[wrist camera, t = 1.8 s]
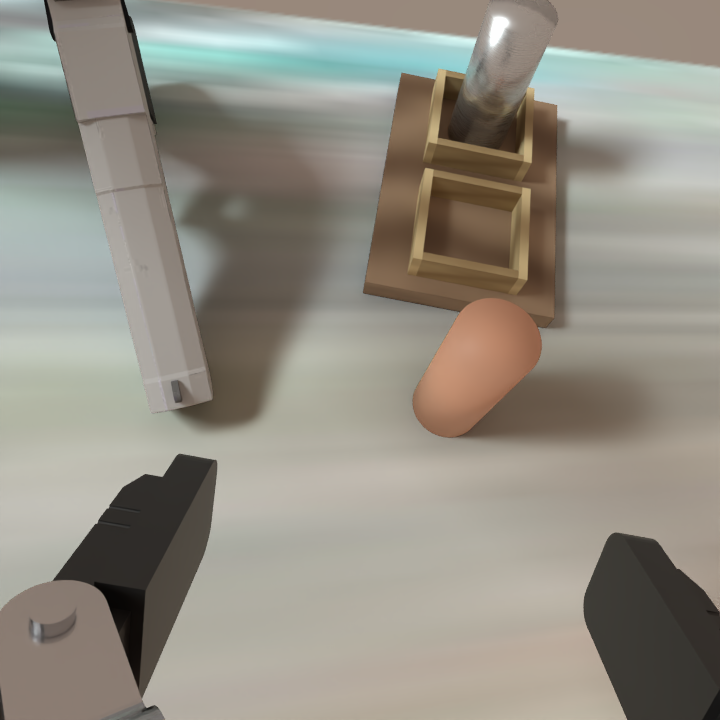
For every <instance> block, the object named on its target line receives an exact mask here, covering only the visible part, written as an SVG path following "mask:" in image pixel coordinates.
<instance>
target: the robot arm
mask: <svg viewBox="0 0 720 720" xmlns="http://www.w3.org/2000/svg"><path fill="white" fill-rule="evenodd" d="M216 476H217V461H216V460H212V459H206V458H201V457H195V456H190V455H184V454H178V455H177V456H176V458H175V459H174V461H173V462H172V464H171V465H170V467H169V468H168V470H167V471H166V473H165V474H164V476H163V477H159V476H153V475H148V474H145V475H143V476H141V477H140V478H138V479H136V480H135V481H133V482H131V483H130V484H128V485H126V486H124V487H123V488H122V489H121V491H120V492H119V493H118V495H117V496H116V497H115V499H114V500H113V501H112V503H111V504H110V507H109V509H106V511H105V512H104V513H103V515H102V516H101V517H100V519H99V520H98V524H95V525H94V527H93V528H92V529H91V531H90V532H89V533H88V535H87V536H86V537H85V539H84V540H83V541H82V543H81V544H80V545H79V547H78V548H77V549H76V550H75V552H74V553H73V554H72V556H71V557H70V558H69V560H68V561H67V562H66V564H65V565H64V566H63V568H62V569H61V570H60V572H59V573H58V574H57V576H56V577H55V578H54V580H53V581H51V582H47V583H43V584H40V585H36V586H34V587H32V588H29V589H27V590H25V591H23V592H22V593H20V594H18V595H17V596H15V597H14V598H13V599H11V600H10V601H9V602H8V603H7V604H6V605H5V606H4V607H3V608H2V609H1V611H0V720H165V718H164V716H163V715H162V713H161V711H160V710H159V708H158V707H157V706H155V705H154V706H151V707H148V708H146V707H145V705H144V703H143V701H142V697H143V695H144V693H145V690H146V688H147V686H148V683H149V681H150V679H151V676H152V674H153V672H154V669H155V667H156V665H157V662H158V660H159V658H160V655H161V653H162V651H163V648H164V646H165V644H166V641H167V639H168V637H169V635H170V632H171V630H172V628H173V625H174V623H175V621H176V618H177V616H178V614H179V611H180V609H181V607H182V604H183V602H184V600H185V597H186V595H187V593H188V590H189V588H190V586H191V583H192V581H193V579H194V576H195V574H196V572H197V569H198V567H199V565H200V563H201V560H202V558H203V555H204V552H205V549H206V546H207V542H208V538H209V534H210V528H211V521H212V512H213V503H214V494H215V485H216ZM584 618H585V622H586V625H587V628H588V630H589V632H590V634H591V637H592V639H593V641H594V644H595V646H596V648H597V651H598V653H599V655H600V658H601V660H602V662H603V664H604V667H605V669H606V671H607V674H608V676H609V678H610V681H611V683H612V685H613V688H614V690H615V692H616V694H617V697H618V699H619V701H620V704H621V706H622V708H623V711H624V713H625V715H626V718H627V720H720V612H719V611H718V609H717V608H716V606H715V605H714V604H713V602H712V601H711V600H710V598H709V597H708V596H707V594H706V593H705V591H704V590H703V589H702V588H700V587H699V586H698V585H697V584H696V583H695V582H693V581H692V580H691V579H690V578H689V577H688V576H687V575H685V574H684V573H683V572H682V571H681V570H680V569H676V567H675V566H674V564H673V563H672V562H671V560H670V559H669V557H668V556H667V555H666V553H665V552H664V550H663V549H662V547H661V546H660V545H659V543H658V542H657V541H655V540H654V539H650V538H645V537H639V536H633V535H628V534H622V533H613V534H611V535H610V536H609V538H608V539H607V541H606V544H605V546H604V548H603V551H602V553H601V556H600V558H599V561H598V563H597V565H596V568H595V570H594V573H593V575H592V577H591V580H590V582H589V585H588V587H587V590H586V593H585V597H584Z"/></svg>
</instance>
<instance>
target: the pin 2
mask: <svg viewBox="0 0 720 720" xmlns="http://www.w3.org/2000/svg"><path fill="white" fill-rule="evenodd" d="M541 349H542V342H541V336H540V332H539V330H538V327H537V325H536V324H535V322H534V321H533V319H532V318H531V317H530V316H529V314H528V313H526V312H525V311H524V310H523V309H522V308H520V307H519V306H517V305H516V304H513V303H511V302H509V301H506V300H503V299H497V298H485V299H480V300H476V301H474V302H472V303H470V304H468V305H467V306H466V307H465V308H464V309H463V310H462V311H461V312H460V313H459V315H458V316H457V318H456V320H455V322H454V323H453V325H452V327H451V329H450V330H449V332H448V334H447V335H446V337H445V339H444V341H443V342H442V344H441V346H440V347H439V349H438V351H437V353H436V354H435V356H434V358H433V360H432V361H431V363H430V365H429V366H428V368H427V370H426V372H425V373H424V375H423V377H422V379H421V380H420V382H419V384H418V385H417V387H416V389H415V392H414V395H413V409H414V412H415V415H416V417H417V419H418V420H419V422H420V423H421V424H422V425H423V427H425V428H426V429H427V430H428V431H430V432H431V433H433V434H435V435H438V436H442V437H457V436H460V435H463V434H465V433H466V432H468V431H469V430H470V429H471V428H472V427H473V426H474V425H475V424H476V423H477V422H478V421H480V420H481V419H482V418H483V417H484V416H485V415H486V414H487V413H488V412H489V411H490V410H491V409H492V408H493V407H494V406H495V405H496V404H497V403H498V402H499V401H500V400H501V399H502V398H503V397H504V396H505V395H506V394H507V393H508V392H509V391H510V390H511V389H512V388H513V387H514V386H515V385H516V384H517V383H518V382H519V381H520V380H521V379H522V378H524V377H525V376H526V375H527V374H528V373H529V372H530V371H531V370H532V369H533V368H534V366H535V365H536V363H537V362H538V360H539V357H540V354H541Z"/></svg>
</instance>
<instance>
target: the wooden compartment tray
mask: <svg viewBox="0 0 720 720" xmlns="http://www.w3.org/2000/svg"><path fill="white" fill-rule="evenodd" d="M464 77H465V74H462V73H457V72H452V71H448V70H443V69H438V73H437V77H436V80H434V79H429V78H424V77H419V76H415V75H410V74H405V73H401V78H400V83H399V88H398V93H397V99H396V105H395V111H394V116H393V122H392V128H391V134H390V139H389V145H388V151H387V157H386V162H385V168H384V174H383V180H382V185H381V191H380V197H379V203H378V208H377V214H376V220H375V226H374V231H373V237H372V243H371V249H370V254H369V260H368V266H367V272H366V278H365V283H364V289H363V293H365V294H371V295H376V296H381V297H386V298H391V299H397V300H402V301H407V302H412V303H418V304H423V305H428V306H433V307H439V308H444V309H449V310H454V311H459V312H461V311H462V310H463V309H464V308H465V307H466V306H467V305H468V304H470V303H472V302H474V301H476V300H480V299H485V298H497V299H503V300H506V301H509V302H511V303H513V304H516V305H517V306H519V307H520V308H522V309H523V310H524V311H525V312H526V313H528V314H529V316H530V317H531V318H532V319H533V321H534V322H535V324H536V325H537V326H538V327H543V328H546V327H547V326H548V324H549V323H550V322H551V321H552V320H553V319H554V308H555V232H556V156H557V105H554V104H549V103H544V102H539V101H535V100H534V88H529V87H528V88H527V91H526V93H525V95H524V97H523V99H522V102H521V104H520V106H519V108H518V110H517V112H516V115H515V117H514V119H513V121H512V123H511V125H510V128H509V130H508V132H507V134H506V136H505V139H504V141H503V143H502V145H501V147H500V148H499V149H498V150H496V149H491V148H486V147H481V146H476V145H471V144H467V143H462V142H457V141H452V140H451V139H450V137H449V135H448V126H449V123H450V120H451V117H452V114H453V110H454V107H455V104H456V101H457V98H458V95H459V92H460V89H461V86H462V83H463V80H464Z"/></svg>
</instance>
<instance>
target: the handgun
mask: <svg viewBox="0 0 720 720" xmlns="http://www.w3.org/2000/svg"><path fill="white" fill-rule="evenodd" d="M44 3H45V8H46V14H47V19H48V25H49V30H50V33H51V36H52V38H53V40H54V41H56V43H57V47H58V51H59V55H60V59H61V63H62V67H63V71H64V75H65V79H66V83H67V87H68V91H69V95H70V99H71V103H72V107H73V111H74V115H75V119H76V121H77V122H78V125H79V129H80V133H81V137H82V141H83V145H84V149H85V153H86V157H87V161H88V165H89V169H90V173H91V177H92V181H93V185H94V189H95V193H96V196H97V200H98V204H99V208H100V212H101V216H102V220H103V223H104V227H105V231H106V235H107V239H108V243H109V247H110V251H111V255H112V259H113V263H114V267H115V271H116V275H117V279H118V283H119V287H120V291H121V295H122V299H123V303H124V307H125V311H126V315H127V319H128V323H129V327H130V331H131V335H132V339H133V343H134V347H135V351H136V355H137V359H138V363H139V367H140V371H141V375H142V379H143V384H144V388H145V392H146V396H147V400H148V404H149V408H150V412H151V414H152V413H158V412H164V411H170V410H174V409H178V408H183V407H187V406H192V405H196V404H199V403H203V402H206V401H210V400H213V389H212V381H211V376H210V372H209V367H208V363H207V359H206V355H205V350H204V346H203V342H202V338H201V334H200V329H199V325H198V321H197V316H196V312H195V308H194V303H193V299H192V295H191V291H190V286H189V282H188V278H187V273H186V269H185V265H184V260H183V256H182V252H181V247H180V243H179V239H178V234H177V230H176V226H175V222H174V217H173V213H172V209H171V204H170V200H169V196H168V191H167V187H166V183H165V178H164V174H163V170H162V166H161V161H160V157H159V153H158V148H157V144H156V140H155V135H157V134H156V129H155V125H154V124H157V123H156V118H155V114H154V110H153V105H152V101H151V97H150V92H149V88H148V84H147V79H146V75H145V71H144V67H143V62H142V58H141V54H140V49H139V45H138V41H137V36H136V32H135V28H134V25H133V21H132V18H131V17H130V16H129V15H128V12H127V8H126V5H125V2H124V0H44Z"/></svg>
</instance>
